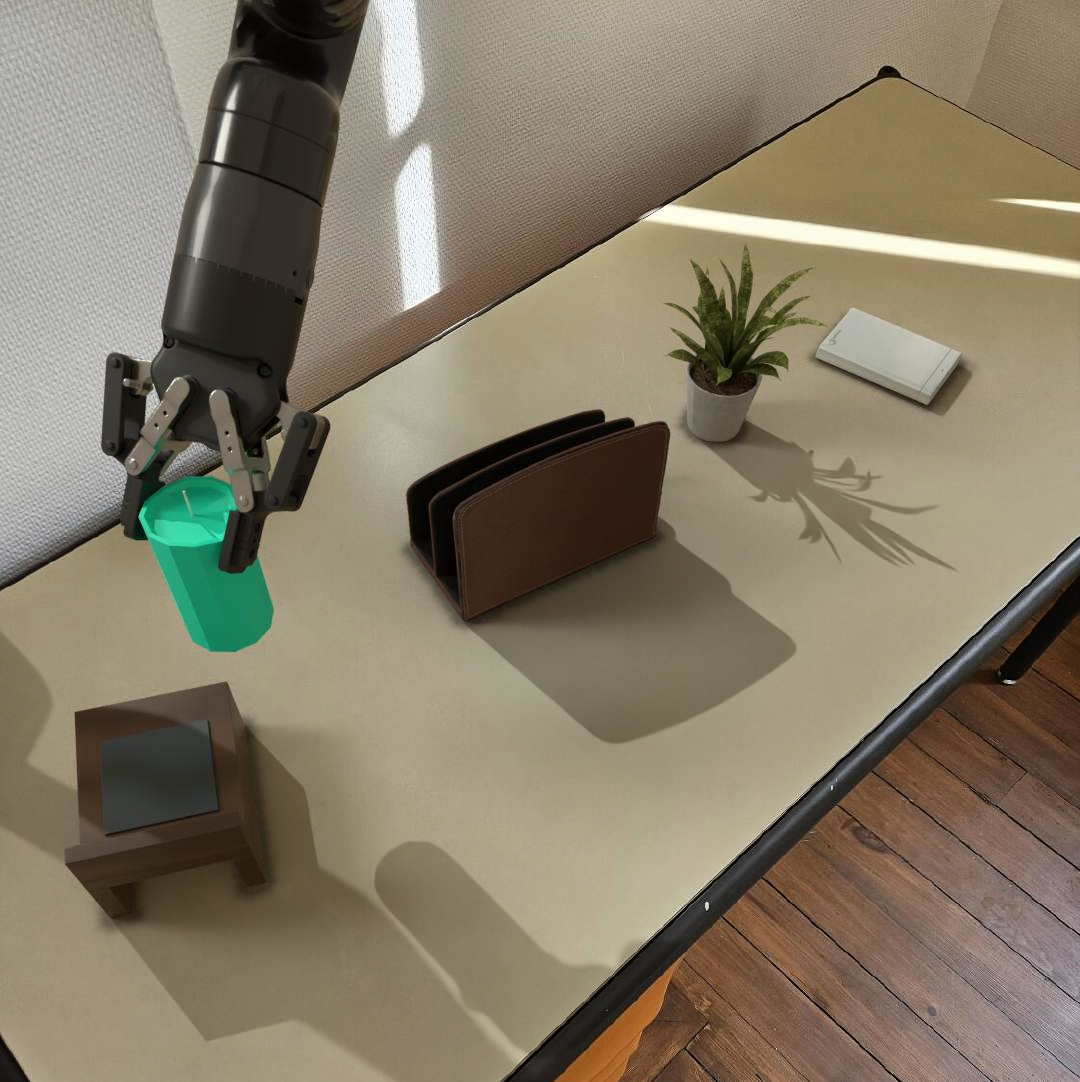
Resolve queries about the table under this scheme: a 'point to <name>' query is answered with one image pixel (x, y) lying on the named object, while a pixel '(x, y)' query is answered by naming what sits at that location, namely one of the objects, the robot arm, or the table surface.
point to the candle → (205, 564)
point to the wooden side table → (162, 792)
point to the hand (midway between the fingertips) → (184, 554)
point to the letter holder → (537, 506)
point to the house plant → (731, 351)
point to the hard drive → (889, 355)
